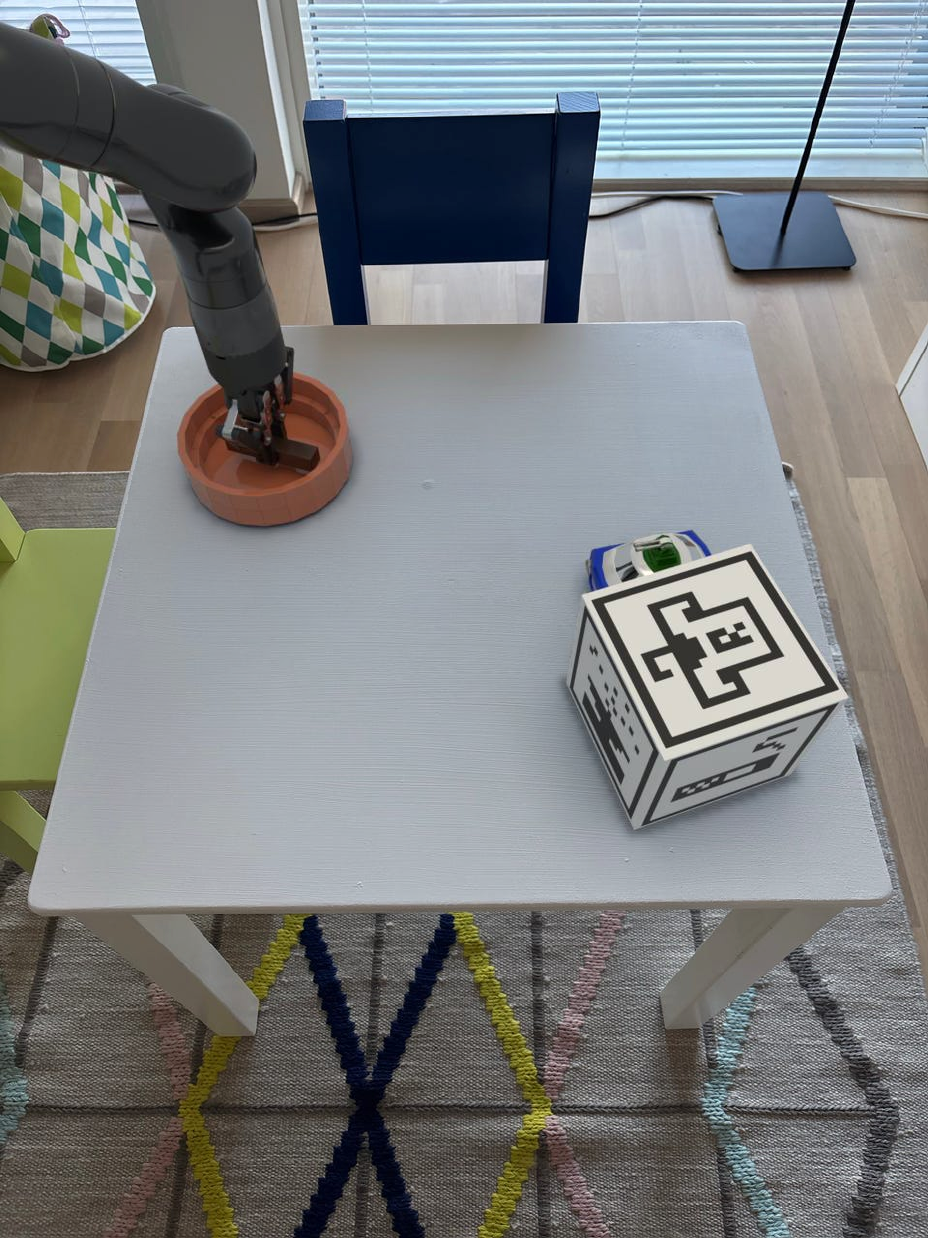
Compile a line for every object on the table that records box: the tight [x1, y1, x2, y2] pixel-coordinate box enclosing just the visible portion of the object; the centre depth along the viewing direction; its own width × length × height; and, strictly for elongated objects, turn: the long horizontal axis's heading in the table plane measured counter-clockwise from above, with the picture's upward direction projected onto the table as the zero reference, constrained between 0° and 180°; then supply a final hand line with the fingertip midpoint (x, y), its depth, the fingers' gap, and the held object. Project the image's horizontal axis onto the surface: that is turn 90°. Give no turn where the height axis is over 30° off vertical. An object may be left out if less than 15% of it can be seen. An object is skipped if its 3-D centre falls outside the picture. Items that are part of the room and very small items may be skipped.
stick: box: [225, 435, 320, 472], centre depth 97 cm, size 2×10×2 cm, turn 72°
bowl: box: [176, 371, 354, 527], centre depth 98 cm, size 18×18×6 cm
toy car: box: [584, 529, 713, 592], centre depth 86 cm, size 9×12×10 cm
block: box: [565, 543, 850, 831], centre depth 76 cm, size 15×15×15 cm
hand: (273, 453), depth 98 cm, fingers closed on stick, 2 cm apart
